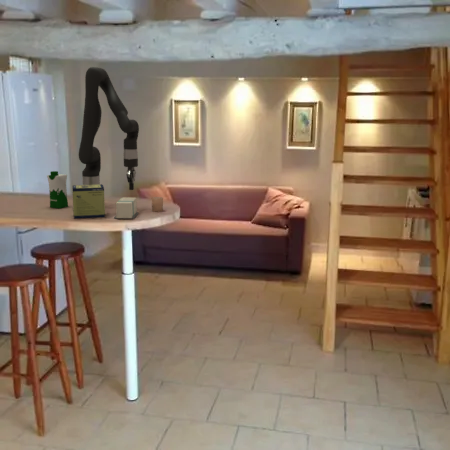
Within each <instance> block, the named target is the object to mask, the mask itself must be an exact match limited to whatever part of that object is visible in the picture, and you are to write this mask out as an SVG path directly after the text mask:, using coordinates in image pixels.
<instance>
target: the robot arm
mask: <svg viewBox="0 0 450 450" xmlns="http://www.w3.org/2000/svg"><path fill="white" fill-rule="evenodd" d="M84 81H85V82H84V83H85V88H84V89H85V96H84V97H85V98H84V109H83V118H82V131H81V138H80V142H79V148H78V159H79V162H80V163H82V164H83V165H85V166H84V169H82V171H81V176H82V178H81V179H82V185H99V184H101V181H100V177H101V176H100V173H101V167H102V165H101V164H102V163H101V162H102V160H101V159H102V158H101V152H100V150H99V148H97V147H96V146H94V141H95V138H96V135H97V133H98V131H99V128H100V126H101V121H102V107H101V104H100V101H99V100H100V99H99V88H100V89H101V90H102V91H103V94H104V95H105V97H106V102H107V105H108V107H109V108H110V110H111V112H112V114H113V116H114V117H115V118H116V121H117V125H118V127H119V128H120V130H121V131H122V132H123V133H125V134H126V137H125V138H124V139H123V167H125V168H127V170H126V180H127V183H128V185H129V186H128V187H129V188H128V190H129V191H133V190H135V186H134V184H135V182H136V181H135V180H136V174H137V172H136V169H135V168H136V167H137V168H138V166H139V154H138V137H139V134H140V133H139V131H140V127H139V123H138V120H135V119H130V118H129V117H128V115H129V111H128V108H126V106H125V104H124V103H123V101H122V100H121V98H120V97H119V95H118V93H117V91H116V90H115V87H114V85H113V82H112V81H111V78H110V77H109V74H108V72H107V70H105V69H104V68H102V67H99V66H98V67H97V66H90V67H88V68H87V69H86V72H85V79H84Z"/></svg>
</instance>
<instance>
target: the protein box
mask: <svg viewBox="0 0 450 450" xmlns="http://www.w3.org/2000/svg"><path fill="white" fill-rule="evenodd" d="M105 204H106V203H105V187H104V185H103V184H101V183H100V184H99V185H83V184H79V185H78V184H77V185H75V184H73V185H72V209H73V211H72V213H73V219H74V220H75V219H77V220H78V219H96V218H100V219H101V218H106V210H105Z"/></svg>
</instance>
